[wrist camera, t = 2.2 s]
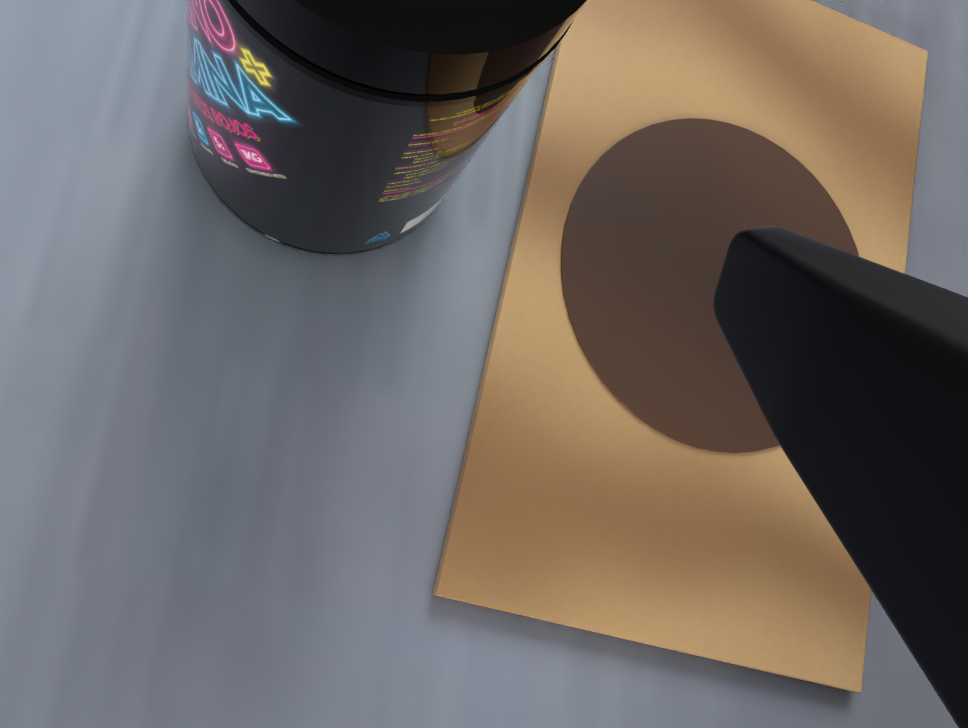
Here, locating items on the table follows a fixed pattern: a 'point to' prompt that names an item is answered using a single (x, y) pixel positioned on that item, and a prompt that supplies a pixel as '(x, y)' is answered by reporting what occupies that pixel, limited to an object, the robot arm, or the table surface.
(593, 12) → the placemat
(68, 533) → the table surface
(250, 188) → the supplement container
